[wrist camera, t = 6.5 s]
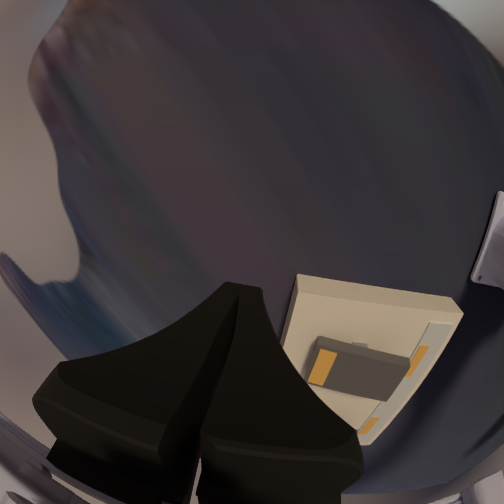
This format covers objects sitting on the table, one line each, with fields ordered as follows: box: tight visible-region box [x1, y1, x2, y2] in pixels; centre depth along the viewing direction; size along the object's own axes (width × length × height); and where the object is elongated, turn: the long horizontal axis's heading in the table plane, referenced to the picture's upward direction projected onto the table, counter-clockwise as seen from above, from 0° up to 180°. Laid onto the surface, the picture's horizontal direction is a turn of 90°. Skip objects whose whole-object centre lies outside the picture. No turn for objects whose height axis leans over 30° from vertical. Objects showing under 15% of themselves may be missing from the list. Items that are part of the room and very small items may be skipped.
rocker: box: [304, 336, 411, 402], centre depth 18 cm, size 7×4×1 cm, turn 81°
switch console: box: [280, 274, 464, 445], centre depth 22 cm, size 14×20×3 cm
